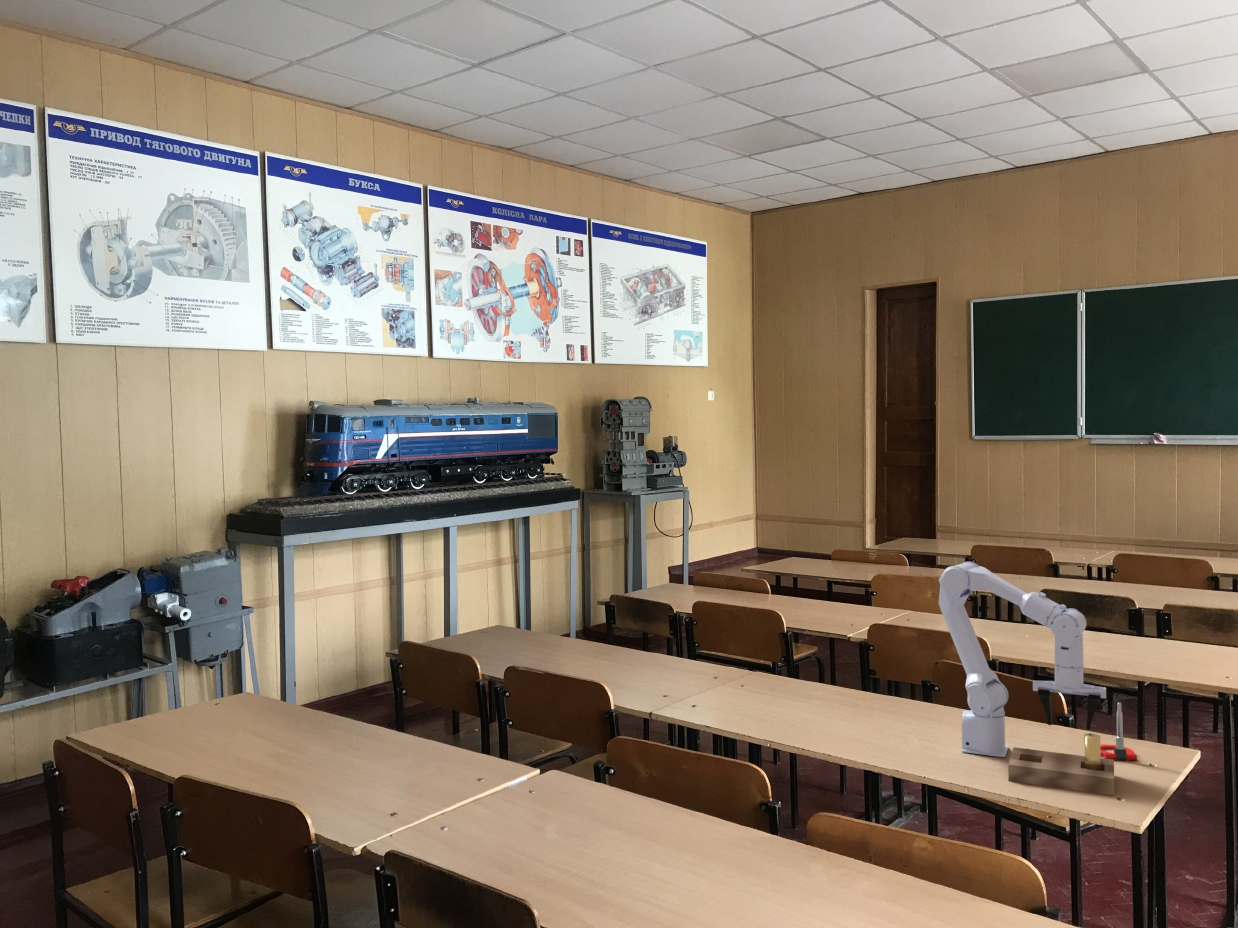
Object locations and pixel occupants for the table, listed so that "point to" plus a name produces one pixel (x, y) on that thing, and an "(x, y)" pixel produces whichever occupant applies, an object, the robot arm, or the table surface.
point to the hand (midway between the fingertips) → (1069, 725)
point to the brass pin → (1092, 751)
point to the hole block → (1060, 771)
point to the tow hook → (1118, 743)
